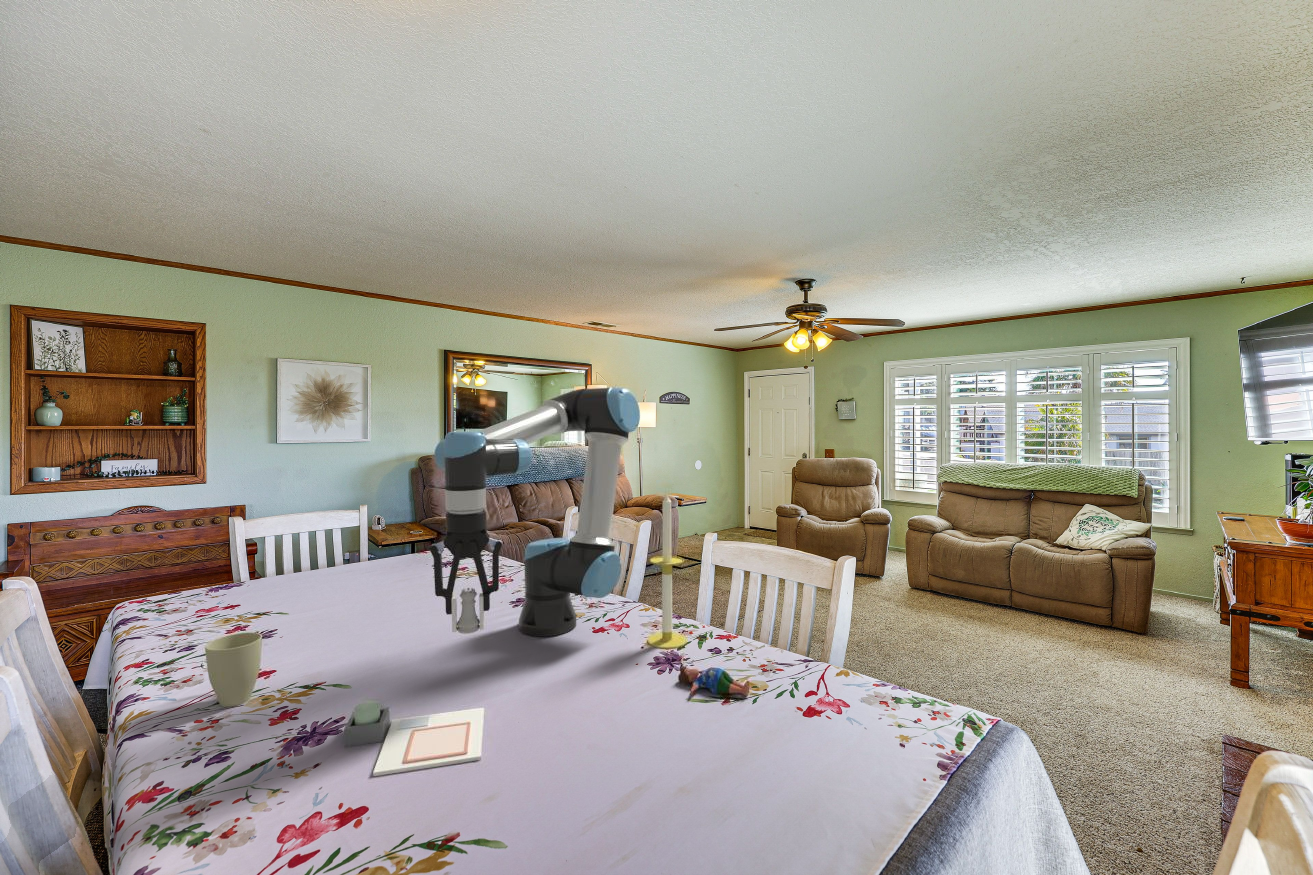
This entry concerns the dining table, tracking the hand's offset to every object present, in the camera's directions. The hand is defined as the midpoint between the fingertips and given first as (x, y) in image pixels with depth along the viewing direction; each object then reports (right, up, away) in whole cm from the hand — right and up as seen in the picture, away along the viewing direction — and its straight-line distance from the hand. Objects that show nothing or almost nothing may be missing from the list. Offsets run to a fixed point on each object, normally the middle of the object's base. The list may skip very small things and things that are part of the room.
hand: (468, 627), depth 111 cm
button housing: (-14, -15, -12) cm, 23 cm away
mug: (-47, -15, +1) cm, 49 cm away
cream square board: (-1, -15, -13) cm, 20 cm away
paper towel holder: (+40, -13, +30) cm, 51 cm away
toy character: (+48, -15, +5) cm, 51 cm away
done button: (-14, -13, -12) cm, 23 cm away
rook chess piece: (0, -1, 0) cm, 1 cm away
